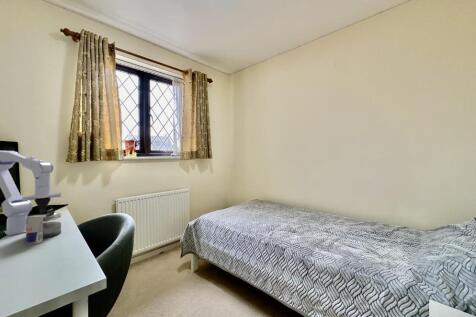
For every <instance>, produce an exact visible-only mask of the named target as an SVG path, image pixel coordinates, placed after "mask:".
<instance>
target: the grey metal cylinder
mask: <svg viewBox="0 0 476 317" xmlns="http://www.w3.org/2000/svg"><path fill="white" fill-rule="evenodd" d="M26 228H27V227H26ZM60 234H62V222H61V221H47V222H43V240H44V239H49V238H53V237H57V236H58V235H60Z"/></svg>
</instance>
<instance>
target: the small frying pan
mask: <svg viewBox="0 0 476 317" xmlns="http://www.w3.org/2000/svg"><path fill="white" fill-rule="evenodd" d="M41 215H42V216H43V223H45V222H52V221H55V220H57V219H60V218H62V213H60V212H56V211H53V210H52V211H48V212H47V213H46V214H41ZM25 224H27V220H25Z"/></svg>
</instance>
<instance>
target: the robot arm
mask: <svg viewBox="0 0 476 317" xmlns="http://www.w3.org/2000/svg"><path fill="white" fill-rule="evenodd" d="M16 163H19V164H21V166H22V167H23V168H26V169H28V170H30V171H31V172H32V174H33V178H34V195H26V196H24V195H21V193H20V192H19V189H18V187H17V185H16V184H15V181H14V179H13V177H12V174H11V173H10V171H9V169H11V168H13V166H14V164H16ZM53 171H54V166H53V164H52V163H51V162H49V161H47V162H44V161H43V160H41V159H36V157H35V156H29V157H26V156H24V155H21V154H20V153H19V152H17V151H15V150H0V189H1V191H2V193H3V195H4V198H5V200H4V201H3V202H2V203H1V207H2V208H1V209H2V213H3V215H5V216H6V217H7V219H6V230H5V231H3V233H4V232H5V233H4V234H6V235H7V236H13V235H18V234H24V233H26V227H27V224H25V220H27V217H28V215H29V214H30V212H31V211H32V209H33V203H32V201H34V202H35V204H36V205H37V207H38V209H39V214H40V215H43V214H45V213H46V211H47V210H46V209H47V207H48V205H49V203H50V202H51V198H61V197H62V193H61V192H57V193H55V192H54V193H51V173H53Z"/></svg>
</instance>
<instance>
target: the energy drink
mask: <svg viewBox="0 0 476 317" xmlns="http://www.w3.org/2000/svg"><path fill="white" fill-rule="evenodd" d="M42 215H43V214H34V215H29V216H28V217H27V228H26V232H25V239H26V240H25V244H26V245H27V246H33V245H34V246H35V245H38V244H41V243H43V240H44V239H43V223H44V222H43V216H42Z"/></svg>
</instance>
